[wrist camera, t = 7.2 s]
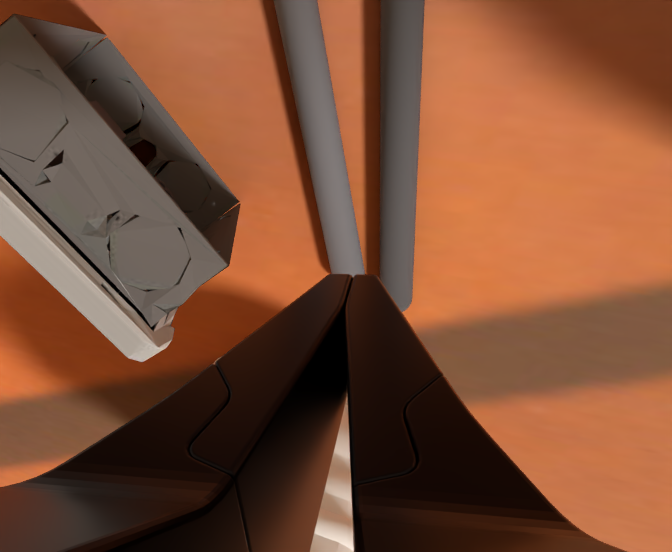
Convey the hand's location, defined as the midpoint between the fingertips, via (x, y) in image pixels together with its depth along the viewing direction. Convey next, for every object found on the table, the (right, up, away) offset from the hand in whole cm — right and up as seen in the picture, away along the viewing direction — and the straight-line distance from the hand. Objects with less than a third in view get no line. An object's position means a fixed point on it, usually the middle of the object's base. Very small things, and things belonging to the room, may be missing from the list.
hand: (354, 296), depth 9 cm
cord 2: (+2, +6, +10) cm, 12 cm away
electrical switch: (-7, +6, +11) cm, 15 cm away
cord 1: (-1, +7, +10) cm, 12 cm away
